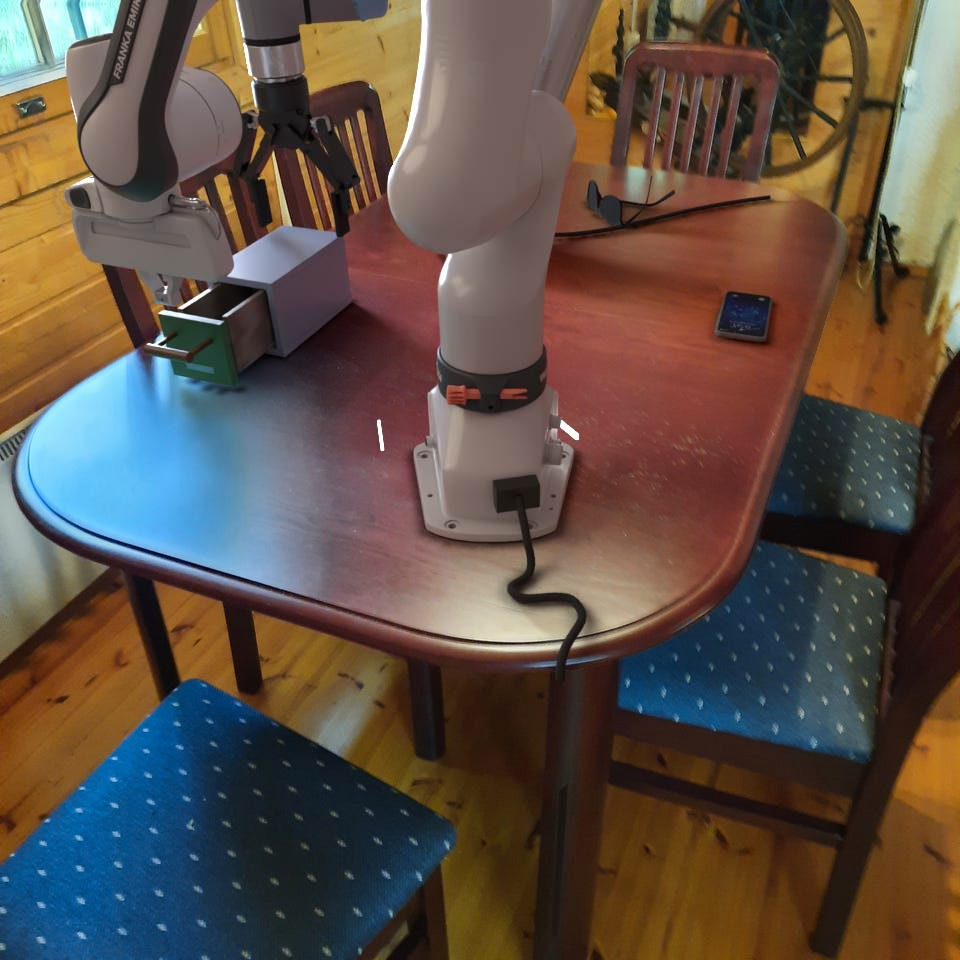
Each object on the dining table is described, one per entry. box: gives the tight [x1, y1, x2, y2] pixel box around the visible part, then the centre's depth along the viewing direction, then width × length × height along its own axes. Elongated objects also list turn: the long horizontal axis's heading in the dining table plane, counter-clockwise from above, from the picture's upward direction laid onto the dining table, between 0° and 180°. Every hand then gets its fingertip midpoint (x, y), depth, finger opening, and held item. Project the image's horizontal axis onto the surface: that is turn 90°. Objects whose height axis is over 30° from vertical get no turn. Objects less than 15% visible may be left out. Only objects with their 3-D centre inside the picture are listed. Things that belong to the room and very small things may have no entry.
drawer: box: [143, 282, 276, 388], centre depth 117 cm, size 24×10×9 cm, turn 158°
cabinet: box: [206, 224, 353, 358], centre depth 127 cm, size 20×11×11 cm, turn 158°
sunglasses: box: [585, 175, 676, 226], centre depth 165 cm, size 17×14×5 cm
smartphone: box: [714, 290, 774, 343], centre depth 128 cm, size 7×1×15 cm
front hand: (168, 303), depth 105 cm, fingers closed
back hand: (304, 229), depth 129 cm, fingers open, 13 cm apart
